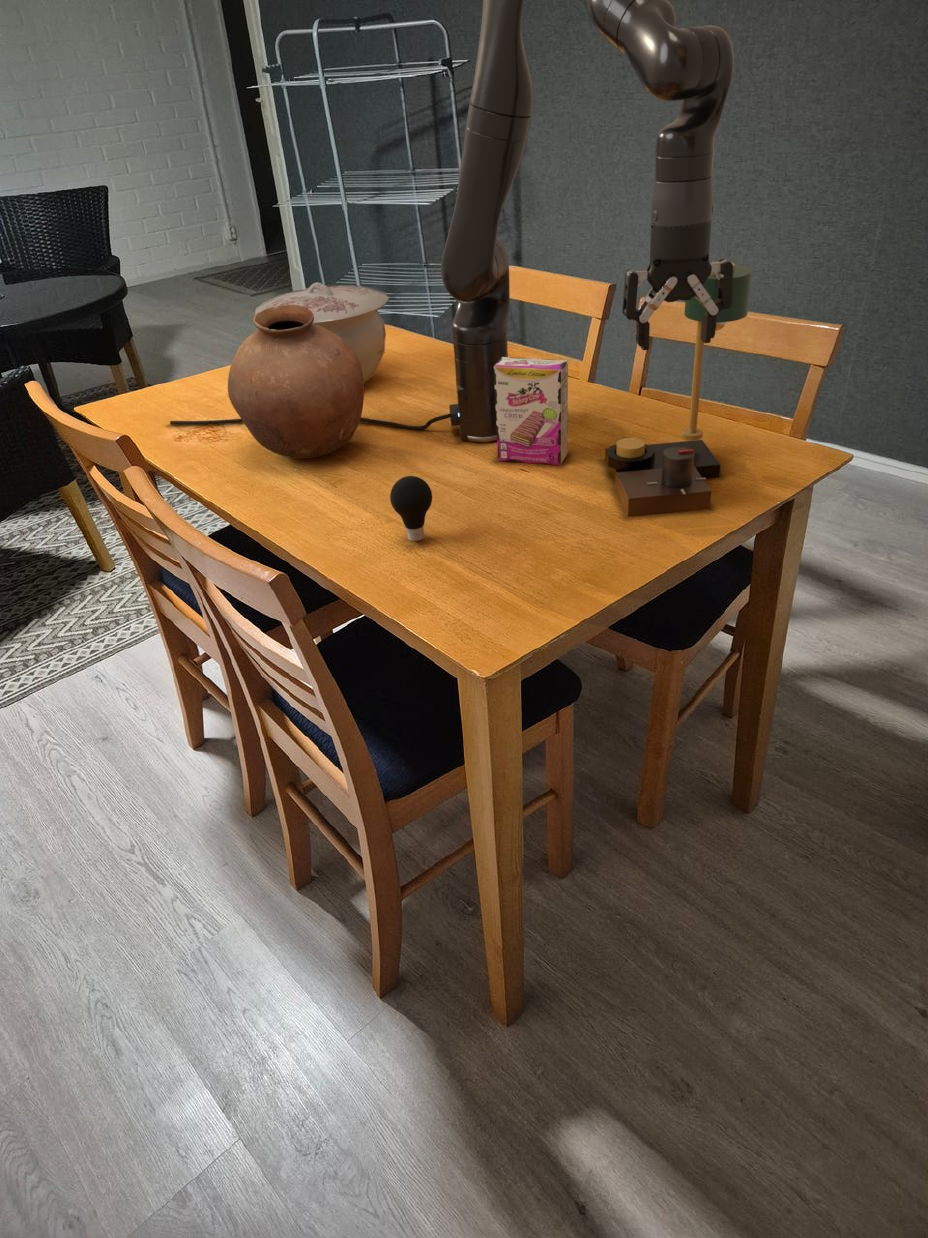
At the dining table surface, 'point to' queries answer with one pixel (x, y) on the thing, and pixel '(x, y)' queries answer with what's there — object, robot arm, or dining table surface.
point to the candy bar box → (531, 410)
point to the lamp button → (630, 448)
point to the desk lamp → (735, 312)
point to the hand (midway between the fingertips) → (674, 345)
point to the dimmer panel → (660, 493)
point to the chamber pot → (345, 317)
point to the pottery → (296, 384)
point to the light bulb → (412, 504)
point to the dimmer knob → (677, 467)
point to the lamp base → (654, 459)
